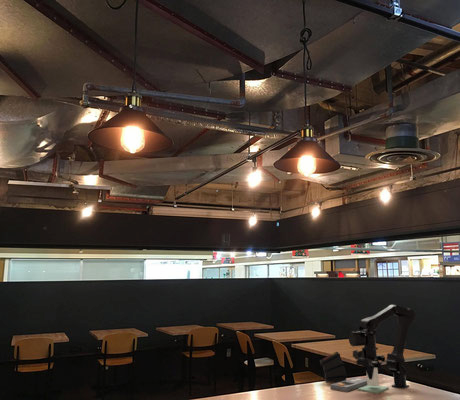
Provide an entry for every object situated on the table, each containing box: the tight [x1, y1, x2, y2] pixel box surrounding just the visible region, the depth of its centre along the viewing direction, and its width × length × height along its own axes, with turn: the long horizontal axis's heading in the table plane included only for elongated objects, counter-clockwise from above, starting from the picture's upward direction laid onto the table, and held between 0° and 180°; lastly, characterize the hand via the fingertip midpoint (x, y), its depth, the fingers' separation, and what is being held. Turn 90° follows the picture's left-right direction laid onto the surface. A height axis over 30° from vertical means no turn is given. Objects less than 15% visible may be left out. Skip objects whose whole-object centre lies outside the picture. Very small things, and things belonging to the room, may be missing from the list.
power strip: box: [330, 377, 367, 393], centre depth 218 cm, size 28×9×3 cm, turn 135°
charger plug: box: [365, 367, 380, 386], centre depth 210 cm, size 4×4×8 cm
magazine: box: [319, 351, 348, 383], centre depth 230 cm, size 4×13×15 cm, turn 88°
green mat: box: [357, 385, 389, 394], centre depth 208 cm, size 12×10×1 cm
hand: (372, 378), depth 210 cm, fingers closed on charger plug, 4 cm apart
